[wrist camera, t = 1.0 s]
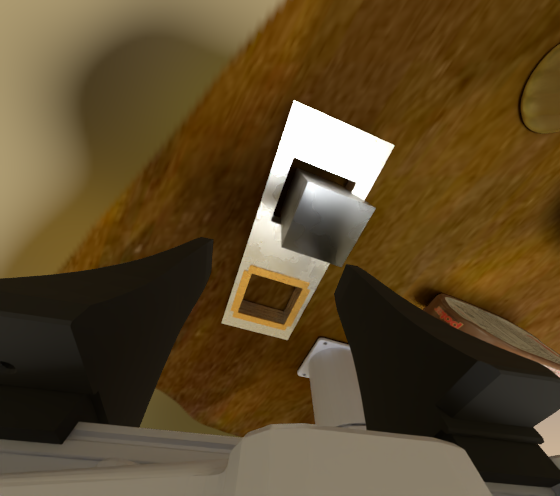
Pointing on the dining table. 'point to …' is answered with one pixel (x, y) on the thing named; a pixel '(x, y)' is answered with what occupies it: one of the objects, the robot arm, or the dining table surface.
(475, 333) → the tin
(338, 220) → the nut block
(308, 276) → the white rectangular board
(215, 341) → the dining table surface
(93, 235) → the dining table surface
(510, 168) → the dining table surface
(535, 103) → the vase
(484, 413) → the robot arm
